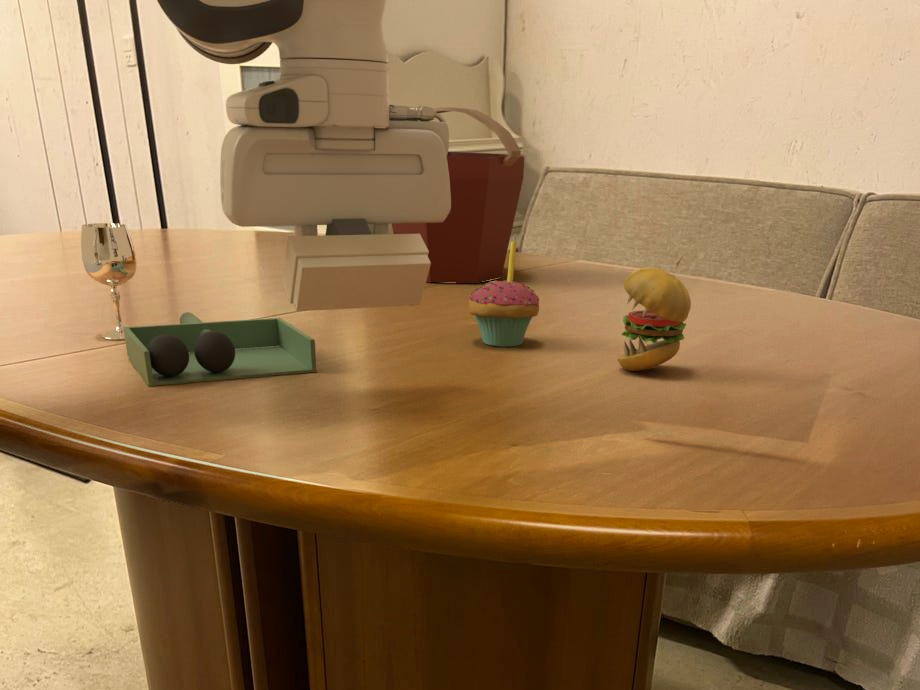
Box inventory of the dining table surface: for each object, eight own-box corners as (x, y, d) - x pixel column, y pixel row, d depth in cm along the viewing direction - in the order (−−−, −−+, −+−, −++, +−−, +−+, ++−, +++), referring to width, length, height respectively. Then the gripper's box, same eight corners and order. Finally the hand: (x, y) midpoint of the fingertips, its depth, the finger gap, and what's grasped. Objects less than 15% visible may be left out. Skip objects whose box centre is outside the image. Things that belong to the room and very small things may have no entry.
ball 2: (217, 351, 97) (233, 325, 94) (230, 382, 96) (247, 356, 93) (182, 347, 94) (198, 319, 91) (195, 378, 93) (212, 352, 90)
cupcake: (487, 333, 117) (490, 229, 111) (549, 341, 114) (555, 235, 108) (455, 345, 110) (457, 236, 104) (520, 354, 107) (526, 242, 101)
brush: (434, 261, 80) (408, 210, 83) (300, 265, 75) (277, 212, 78) (421, 306, 84) (398, 257, 87) (293, 313, 80) (272, 261, 82)
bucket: (357, 271, 159) (351, 104, 147) (453, 262, 173) (455, 108, 160) (451, 291, 144) (453, 106, 132) (549, 280, 157) (559, 110, 145)
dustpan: (316, 371, 97) (314, 339, 95) (148, 386, 90) (143, 351, 88) (258, 330, 114) (256, 302, 113) (114, 340, 107) (109, 310, 106)
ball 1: (169, 358, 95) (200, 348, 93) (162, 389, 93) (194, 378, 92) (142, 332, 92) (173, 320, 90) (134, 363, 90) (166, 352, 88)
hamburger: (625, 360, 106) (637, 247, 100) (687, 368, 103) (703, 252, 97) (606, 374, 99) (618, 255, 94) (673, 383, 97) (689, 260, 91)
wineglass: (85, 336, 109) (65, 224, 103) (126, 329, 113) (110, 221, 107) (116, 343, 106) (97, 229, 100) (157, 335, 110) (142, 225, 104)
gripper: (433, 106, 84) (433, 269, 91) (205, 98, 75) (224, 278, 82) (464, 107, 79) (461, 278, 86) (224, 98, 71) (242, 289, 77)
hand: (343, 278), depth 84 cm, fingers closed on brush, 3 cm apart
